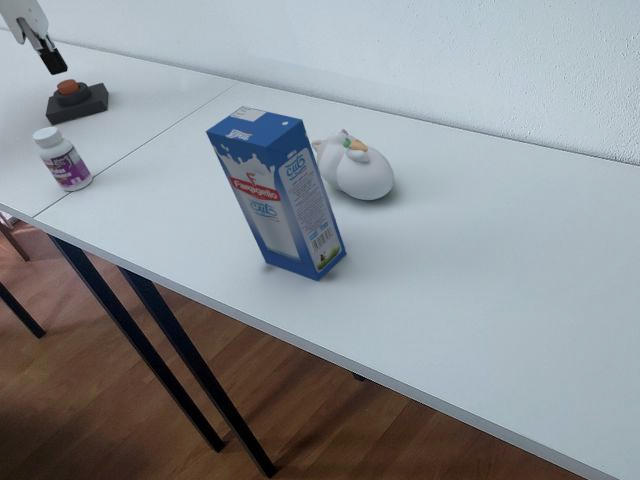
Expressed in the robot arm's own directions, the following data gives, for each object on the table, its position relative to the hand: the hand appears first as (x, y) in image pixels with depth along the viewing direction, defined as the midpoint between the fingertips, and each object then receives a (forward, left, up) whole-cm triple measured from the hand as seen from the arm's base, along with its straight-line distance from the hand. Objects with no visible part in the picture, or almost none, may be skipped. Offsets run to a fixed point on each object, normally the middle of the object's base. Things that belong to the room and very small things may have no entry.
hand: (60, 71), depth 126 cm
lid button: (0, 0, -4) cm, 4 cm away
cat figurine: (+45, -60, -8) cm, 75 cm away
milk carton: (+34, -73, -8) cm, 81 cm away
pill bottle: (+1, -32, -8) cm, 33 cm away
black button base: (0, 0, -8) cm, 8 cm away
